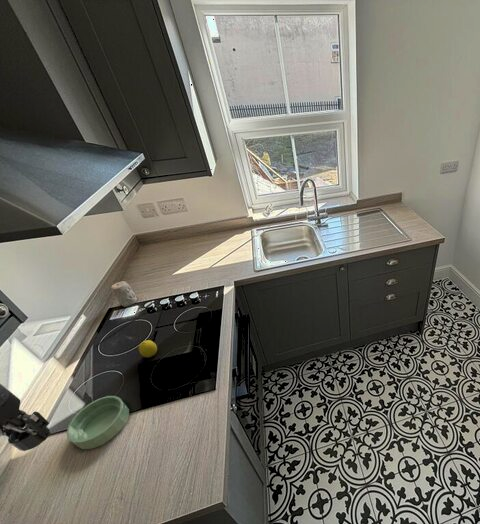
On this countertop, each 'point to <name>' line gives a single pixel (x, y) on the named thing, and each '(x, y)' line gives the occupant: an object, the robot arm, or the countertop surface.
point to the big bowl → (98, 422)
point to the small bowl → (24, 440)
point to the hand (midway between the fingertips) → (33, 437)
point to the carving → (124, 293)
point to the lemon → (147, 348)
